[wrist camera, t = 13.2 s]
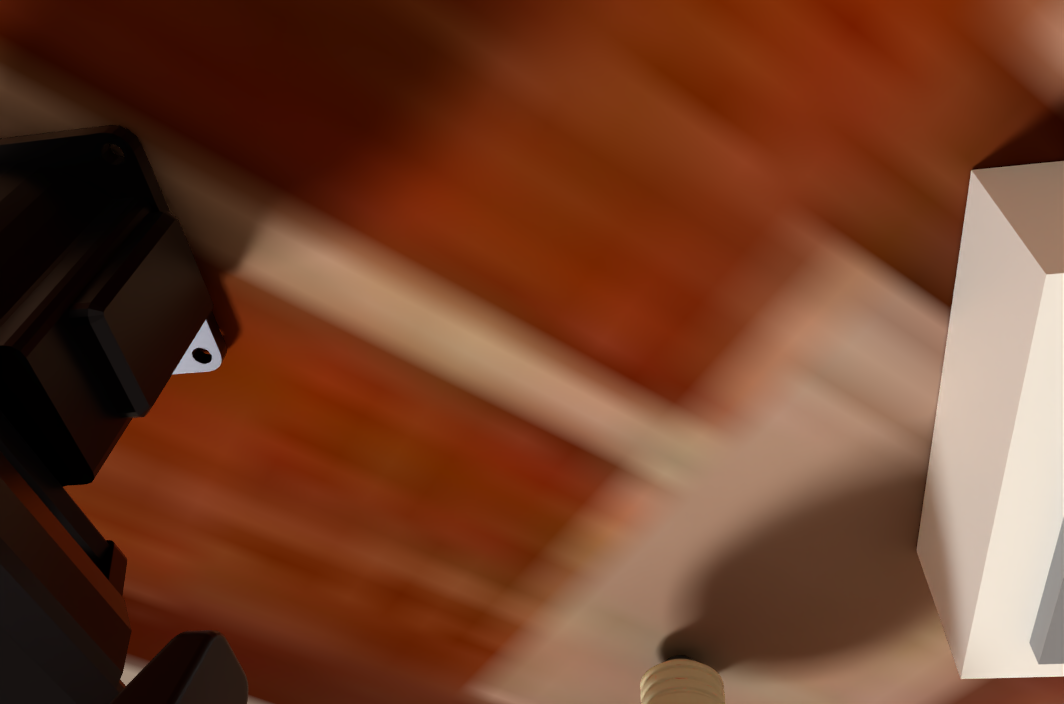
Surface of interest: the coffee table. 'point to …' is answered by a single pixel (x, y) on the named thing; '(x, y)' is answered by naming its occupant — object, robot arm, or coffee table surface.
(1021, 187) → the socket block
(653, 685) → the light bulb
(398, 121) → the coffee table surface
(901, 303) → the coffee table surface
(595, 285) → the coffee table surface
